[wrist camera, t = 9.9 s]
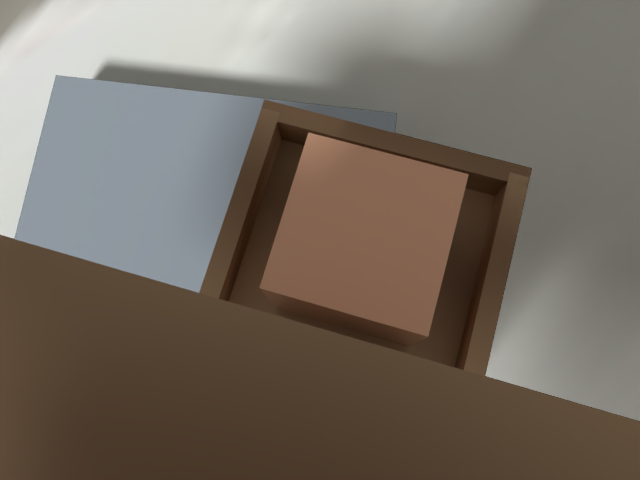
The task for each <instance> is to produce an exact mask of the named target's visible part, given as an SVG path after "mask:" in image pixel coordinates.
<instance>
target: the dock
mask: <svg viewBox="0 0 640 480" xmlns="http://www.w3.org/2000/svg"><path fill="white" fill-rule="evenodd" d="M265 100H269V101H273V102H276V103H280V104H284V105H288V106H292V107H296V108H300V109H304V110H308V111H311V112H315V113H319V114H323V115H327V116H331V117H335V118H339V119H342V120H346V121H350V122H354V123H358V124H362V125H366V126H370V127H374V128H377V129H381V130H385V131H389V132H393V133H395V127H396V118H397V113H390V112H381V111H372V110H363V109H354V108H345V107H336V106H327V105H318V104H309V103H300V102H291V101H282V100H273V99H265ZM263 102H264V98H256V97H247V96H238V95H229V94H220V93H211V92H202V91H193V90H184V89H175V88H166V87H157V86H148V85H139V84H130V83H121V82H112V81H104V80H95V79H86V78H77V77H68V76H59V75H56V77H55V81H54V85H53V89H52V93H51V97H50V101H49V105H48V108H47V112H46V116H45V120H44V124H43V128H42V132H41V136H40V140H39V144H38V148H37V152H36V156H35V160H34V164H33V167H32V171H31V175H30V179H29V183H28V187H27V191H26V195H25V199H24V203H23V207H22V211H21V215H20V219H19V223H18V226H17V230H16V234H15V238H14V239H16V240H19V241H23V242H26V243H30V244H33V245H36V246H40V247H43V248H47V249H50V250H54V251H57V252H60V253H64V254H67V255H71V256H74V257H78V258H81V259H84V260H88V261H91V262H95V263H98V264H102V265H105V266H108V267H112V268H115V269H119V270H122V271H126V272H129V273H132V274H136V275H139V276H143V277H146V278H150V279H153V280H157V281H160V282H163V283H167V284H170V285H174V286H177V287H181V288H184V289H187V290H191V291H194V292H198V293H199V292H200V289H201V286H202V283H203V280H204V277H205V274H206V271H207V268H208V265H209V262H210V259H211V256H212V253H213V250H214V247H215V244H216V241H217V238H218V235H219V233H220V230H221V227H222V224H223V221H224V218H225V215H226V212H227V209H228V206H229V203H230V200H231V197H232V194H233V191H234V188H235V185H236V182H237V179H238V176H239V173H240V170H241V167H242V164H243V161H244V158H245V156H246V153H247V150H248V147H249V144H250V141H251V138H252V135H253V132H254V129H255V126H256V123H257V120H258V117H259V114H260V111H261V108H262V105H263Z"/></svg>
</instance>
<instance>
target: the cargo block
mask: <svg viewBox="0 0 640 480" xmlns="http://www.w3.org/2000/svg"><path fill="white" fill-rule="evenodd" d="M468 175H469V174H466V173H462V172H458V171H454V170H450V169H447V168H443V167H439V166H435V165H431V164H427V163H424V162H420V161H416V160H412V159H408V158H404V157H401V156H397V155H393V154H389V153H385V152H381V151H378V150H374V149H370V148H366V147H362V146H358V145H355V144H351V143H347V142H343V141H339V140H335V139H332V138H328V137H324V136H320V135H316V134H312V133H309V132H308V136H307V139H306V142H305V145H304V148H303V151H302V154H301V158H300V161H299V164H298V167H297V170H296V173H295V177H294V180H293V183H292V186H291V189H290V192H289V196H288V199H287V202H286V205H285V208H284V211H283V215H282V218H281V221H280V224H279V227H278V230H277V234H276V237H275V240H274V243H273V246H272V249H271V253H270V256H269V259H268V262H267V265H266V268H265V272H264V275H263V278H262V281H261V284H260V287H259V288H260V290H261V291H262V292H263V293H264V294H265V295H266V297H267V298H268V299H269V300H270V301H271V302H272V304H273V305H274V306H275V307H276V308H277V309H280V310H284V311H287V312H291V313H294V314H298V315H301V316H304V317H308V318H311V319H315V320H318V321H322V322H325V323H329V324H332V325H335V326H339V327H342V328H346V329H349V330H353V331H356V332H360V333H363V334H366V335H370V336H373V337H377V338H380V339H384V340H387V341H391V342H394V343H397V344H401V345H404V346H410V345H412V344H414V343H417V342H419V341H421V340H423V339H425V338H427V337H428V336H429V332H430V328H431V324H432V320H433V316H434V312H435V308H436V304H437V300H438V296H439V292H440V288H441V284H442V280H443V276H444V272H445V268H446V264H447V260H448V256H449V252H450V248H451V244H452V240H453V236H454V232H455V228H456V224H457V220H458V216H459V211H460V207H461V203H462V199H463V195H464V191H465V187H466V183H467V179H468Z"/></svg>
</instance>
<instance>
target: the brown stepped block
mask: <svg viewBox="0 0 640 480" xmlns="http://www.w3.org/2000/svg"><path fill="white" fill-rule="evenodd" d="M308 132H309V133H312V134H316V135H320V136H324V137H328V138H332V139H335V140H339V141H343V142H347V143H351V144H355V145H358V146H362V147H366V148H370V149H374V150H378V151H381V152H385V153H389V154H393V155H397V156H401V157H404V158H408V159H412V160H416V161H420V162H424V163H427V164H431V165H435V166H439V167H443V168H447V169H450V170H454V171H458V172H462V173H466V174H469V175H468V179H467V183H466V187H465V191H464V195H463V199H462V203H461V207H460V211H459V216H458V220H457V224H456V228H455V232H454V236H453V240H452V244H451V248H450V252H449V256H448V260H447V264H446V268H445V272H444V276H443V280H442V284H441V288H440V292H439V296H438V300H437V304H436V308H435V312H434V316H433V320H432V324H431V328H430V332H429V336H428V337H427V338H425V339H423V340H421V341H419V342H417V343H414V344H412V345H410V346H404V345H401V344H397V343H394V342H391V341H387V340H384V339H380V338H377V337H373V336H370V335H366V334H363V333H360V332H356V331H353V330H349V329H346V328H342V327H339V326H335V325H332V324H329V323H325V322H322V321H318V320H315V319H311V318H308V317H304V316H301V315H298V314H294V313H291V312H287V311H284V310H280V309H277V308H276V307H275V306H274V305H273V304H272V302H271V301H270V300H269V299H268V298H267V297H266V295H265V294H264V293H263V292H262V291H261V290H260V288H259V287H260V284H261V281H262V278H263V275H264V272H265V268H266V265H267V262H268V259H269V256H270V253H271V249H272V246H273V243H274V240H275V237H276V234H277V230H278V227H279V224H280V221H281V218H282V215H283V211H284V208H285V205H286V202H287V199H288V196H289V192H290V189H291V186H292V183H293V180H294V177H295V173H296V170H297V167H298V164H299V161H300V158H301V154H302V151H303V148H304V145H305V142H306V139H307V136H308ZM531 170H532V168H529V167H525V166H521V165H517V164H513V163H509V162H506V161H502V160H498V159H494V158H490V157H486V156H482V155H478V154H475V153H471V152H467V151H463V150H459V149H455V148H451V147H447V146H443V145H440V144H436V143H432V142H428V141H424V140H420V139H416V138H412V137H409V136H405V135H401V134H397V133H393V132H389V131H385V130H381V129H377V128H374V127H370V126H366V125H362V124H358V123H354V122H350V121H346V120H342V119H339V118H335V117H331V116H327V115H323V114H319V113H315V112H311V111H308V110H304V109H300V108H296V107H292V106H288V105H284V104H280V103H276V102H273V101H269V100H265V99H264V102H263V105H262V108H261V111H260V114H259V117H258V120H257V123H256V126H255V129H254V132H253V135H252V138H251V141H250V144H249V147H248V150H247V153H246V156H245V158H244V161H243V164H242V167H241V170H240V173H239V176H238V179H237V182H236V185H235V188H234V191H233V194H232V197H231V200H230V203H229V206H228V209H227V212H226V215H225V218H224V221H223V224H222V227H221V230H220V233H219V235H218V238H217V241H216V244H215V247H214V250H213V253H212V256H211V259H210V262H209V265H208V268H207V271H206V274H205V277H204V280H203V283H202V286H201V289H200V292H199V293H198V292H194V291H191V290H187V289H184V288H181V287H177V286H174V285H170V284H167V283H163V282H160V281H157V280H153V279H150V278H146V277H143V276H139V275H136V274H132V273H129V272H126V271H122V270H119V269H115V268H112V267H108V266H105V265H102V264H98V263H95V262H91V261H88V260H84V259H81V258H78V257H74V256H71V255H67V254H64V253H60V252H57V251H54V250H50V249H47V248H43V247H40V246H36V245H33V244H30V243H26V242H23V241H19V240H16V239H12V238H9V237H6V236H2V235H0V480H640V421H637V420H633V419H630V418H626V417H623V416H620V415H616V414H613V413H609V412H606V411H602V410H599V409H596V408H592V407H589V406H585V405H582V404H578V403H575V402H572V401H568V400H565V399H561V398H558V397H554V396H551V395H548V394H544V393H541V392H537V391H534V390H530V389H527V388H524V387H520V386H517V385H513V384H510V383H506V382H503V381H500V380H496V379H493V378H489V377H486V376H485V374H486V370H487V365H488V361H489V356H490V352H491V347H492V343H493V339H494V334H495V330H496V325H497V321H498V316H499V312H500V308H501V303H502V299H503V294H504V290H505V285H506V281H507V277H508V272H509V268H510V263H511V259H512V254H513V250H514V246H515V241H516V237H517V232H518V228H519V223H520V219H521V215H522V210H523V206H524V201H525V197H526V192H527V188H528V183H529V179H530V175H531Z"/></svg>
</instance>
